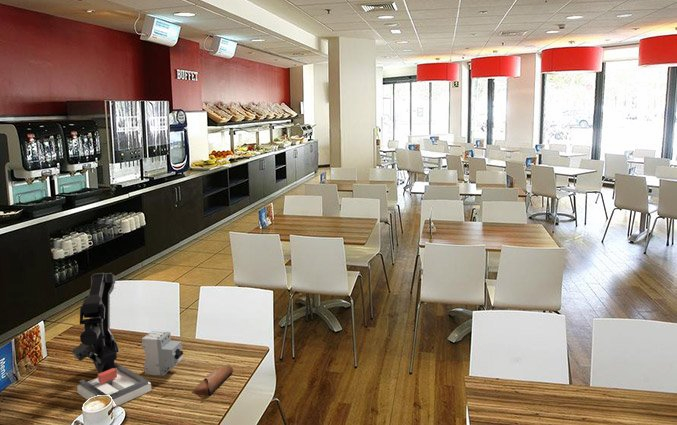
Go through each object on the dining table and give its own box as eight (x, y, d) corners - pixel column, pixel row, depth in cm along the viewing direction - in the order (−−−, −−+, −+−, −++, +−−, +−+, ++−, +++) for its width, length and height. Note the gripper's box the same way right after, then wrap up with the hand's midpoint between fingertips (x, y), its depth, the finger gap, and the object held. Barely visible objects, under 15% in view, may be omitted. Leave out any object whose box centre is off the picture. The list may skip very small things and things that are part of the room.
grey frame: (79, 384, 202) (79, 381, 201) (120, 368, 214) (120, 364, 213) (106, 402, 189) (106, 398, 189) (148, 384, 201) (148, 380, 201)
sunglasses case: (214, 370, 216) (220, 357, 214) (228, 380, 215) (235, 367, 213) (190, 393, 199) (197, 380, 197) (205, 404, 198) (213, 391, 196)
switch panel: (78, 393, 201) (77, 385, 201) (123, 374, 215) (122, 367, 214) (104, 411, 189) (103, 403, 188) (151, 390, 202) (150, 382, 202)
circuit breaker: (178, 376, 212) (175, 340, 209) (144, 374, 215) (141, 338, 212) (187, 367, 219) (184, 332, 216) (154, 365, 222) (151, 330, 219)
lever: (99, 387, 203) (97, 374, 202) (114, 381, 207) (113, 368, 206) (102, 389, 201) (100, 376, 200) (117, 383, 206) (116, 369, 205)
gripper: (62, 334, 204) (67, 373, 207) (85, 348, 192) (90, 388, 196) (91, 325, 213) (95, 362, 216) (115, 337, 201) (120, 376, 204)
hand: (99, 372), depth 207 cm, fingers closed
